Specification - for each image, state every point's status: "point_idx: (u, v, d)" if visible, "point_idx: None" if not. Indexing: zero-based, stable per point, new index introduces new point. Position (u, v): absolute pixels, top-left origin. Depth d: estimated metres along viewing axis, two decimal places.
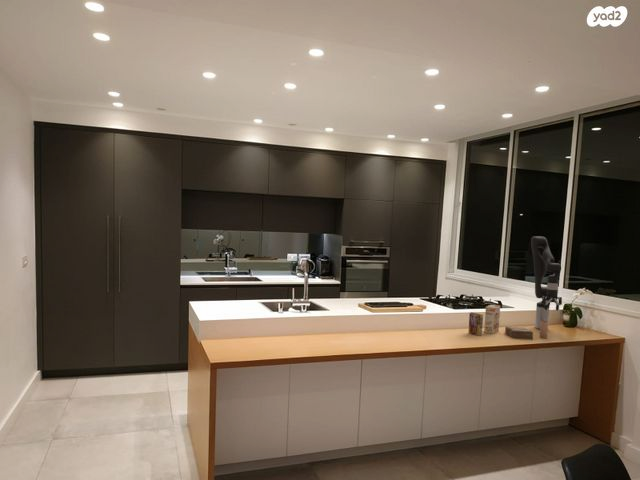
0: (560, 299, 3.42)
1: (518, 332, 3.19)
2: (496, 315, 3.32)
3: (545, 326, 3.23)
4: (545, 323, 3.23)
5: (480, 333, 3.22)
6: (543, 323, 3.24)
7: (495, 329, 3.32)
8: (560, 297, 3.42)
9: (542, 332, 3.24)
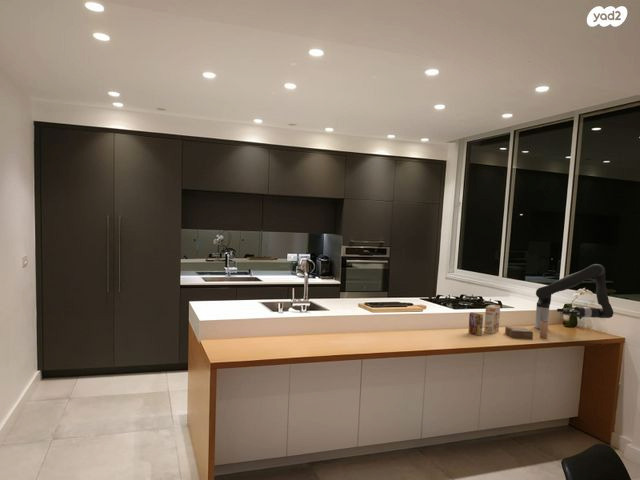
0: None
1: (518, 332, 3.19)
2: (496, 315, 3.32)
3: (545, 326, 3.23)
4: (545, 323, 3.23)
5: (480, 333, 3.22)
6: (543, 323, 3.24)
7: (495, 329, 3.32)
8: None
9: (542, 332, 3.24)
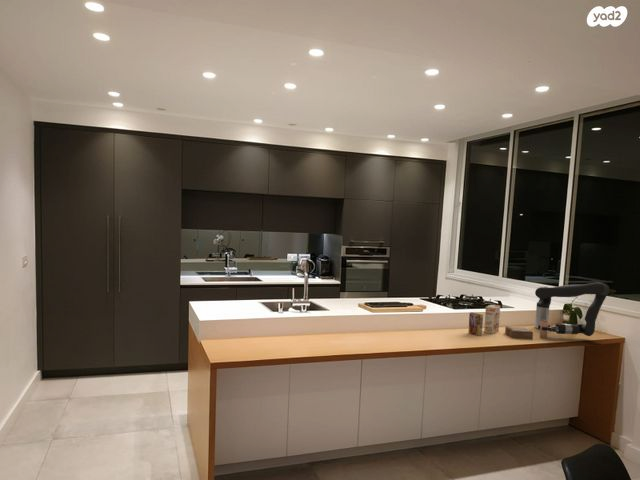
0: None
1: (518, 332, 3.19)
2: (496, 315, 3.32)
3: (545, 326, 3.23)
4: (545, 323, 3.23)
5: (480, 333, 3.22)
6: (543, 323, 3.24)
7: (495, 329, 3.32)
8: None
9: (542, 332, 3.24)
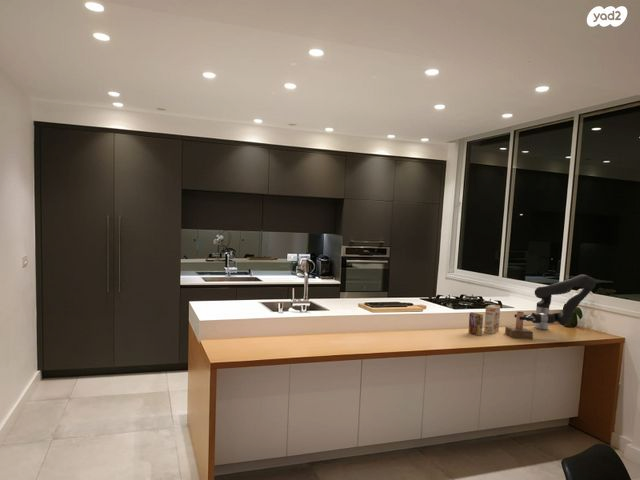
0: None
1: (518, 332, 3.19)
2: (496, 315, 3.32)
3: None
4: (521, 314, 3.23)
5: (480, 333, 3.22)
6: (519, 314, 3.24)
7: (495, 329, 3.32)
8: None
9: (518, 324, 3.24)
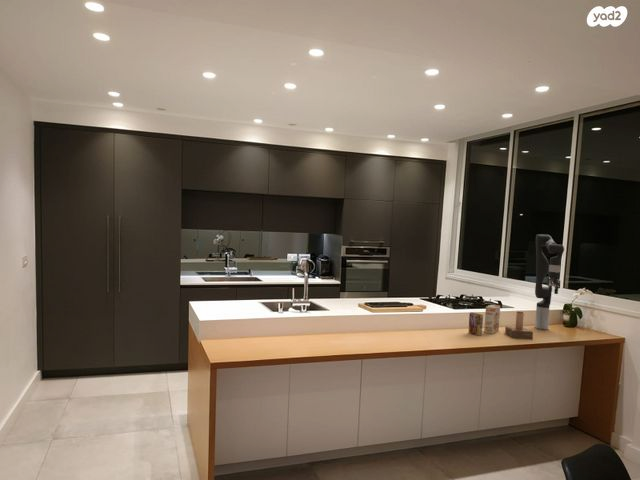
0: None
1: (518, 332, 3.19)
2: (496, 315, 3.32)
3: (521, 317, 3.23)
4: (521, 314, 3.23)
5: (480, 333, 3.22)
6: (519, 314, 3.24)
7: (495, 329, 3.32)
8: None
9: (518, 324, 3.24)
